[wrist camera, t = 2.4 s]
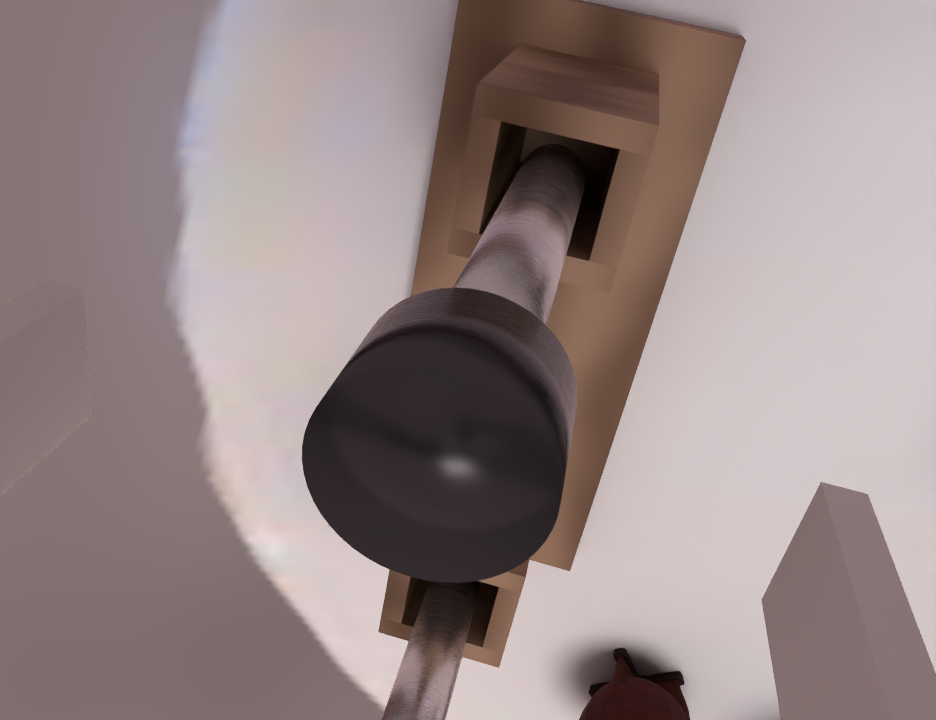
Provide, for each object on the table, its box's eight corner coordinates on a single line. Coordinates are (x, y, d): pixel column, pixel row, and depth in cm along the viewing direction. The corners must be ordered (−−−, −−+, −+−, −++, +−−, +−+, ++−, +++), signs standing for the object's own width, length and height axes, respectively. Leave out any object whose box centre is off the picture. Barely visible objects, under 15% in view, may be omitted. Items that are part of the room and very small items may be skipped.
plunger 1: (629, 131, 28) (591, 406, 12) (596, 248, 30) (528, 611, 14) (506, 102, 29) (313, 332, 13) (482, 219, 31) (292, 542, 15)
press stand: (742, 36, 35) (776, 82, 25) (572, 554, 50) (550, 712, 40) (469, -24, 36) (396, -3, 26) (383, 501, 51) (316, 642, 41)
